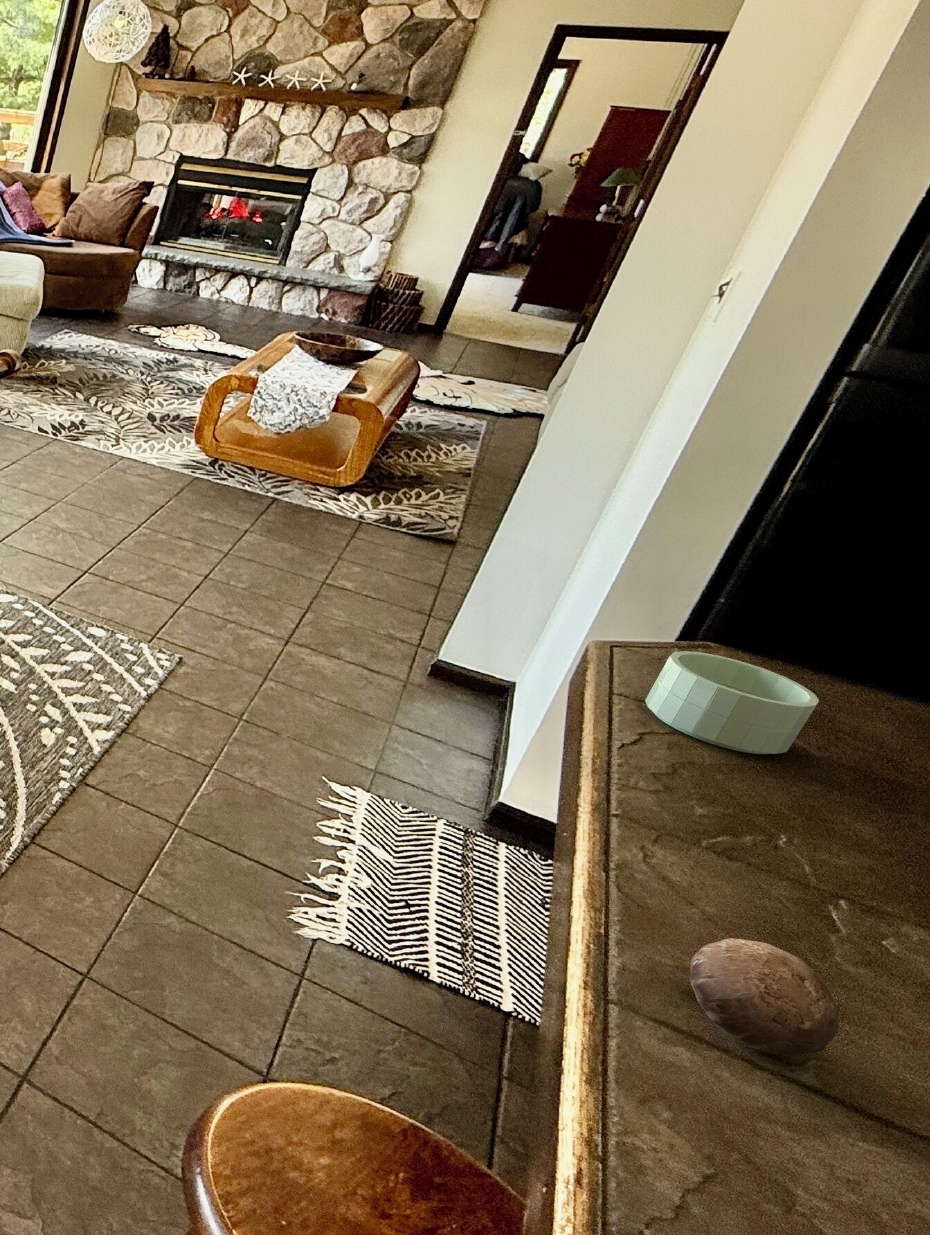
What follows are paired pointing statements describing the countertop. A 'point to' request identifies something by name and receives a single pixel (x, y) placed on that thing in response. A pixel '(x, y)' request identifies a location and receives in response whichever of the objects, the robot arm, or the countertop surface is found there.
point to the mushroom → (764, 997)
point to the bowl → (730, 703)
